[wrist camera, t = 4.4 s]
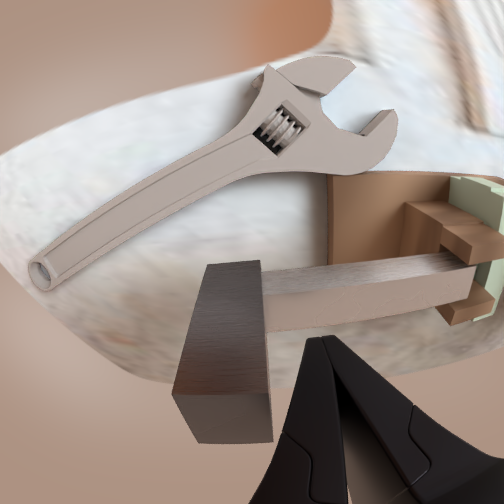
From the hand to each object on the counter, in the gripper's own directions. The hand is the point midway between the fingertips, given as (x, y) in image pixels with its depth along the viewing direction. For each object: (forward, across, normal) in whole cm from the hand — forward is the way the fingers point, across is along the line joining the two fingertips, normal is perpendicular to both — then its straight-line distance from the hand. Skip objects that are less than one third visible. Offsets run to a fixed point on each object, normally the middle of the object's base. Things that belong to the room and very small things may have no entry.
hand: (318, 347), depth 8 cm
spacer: (+7, -11, 0) cm, 13 cm away
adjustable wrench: (+9, +6, -4) cm, 12 cm away
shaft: (+4, -2, 0) cm, 4 cm away
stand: (+9, -9, 0) cm, 13 cm away
